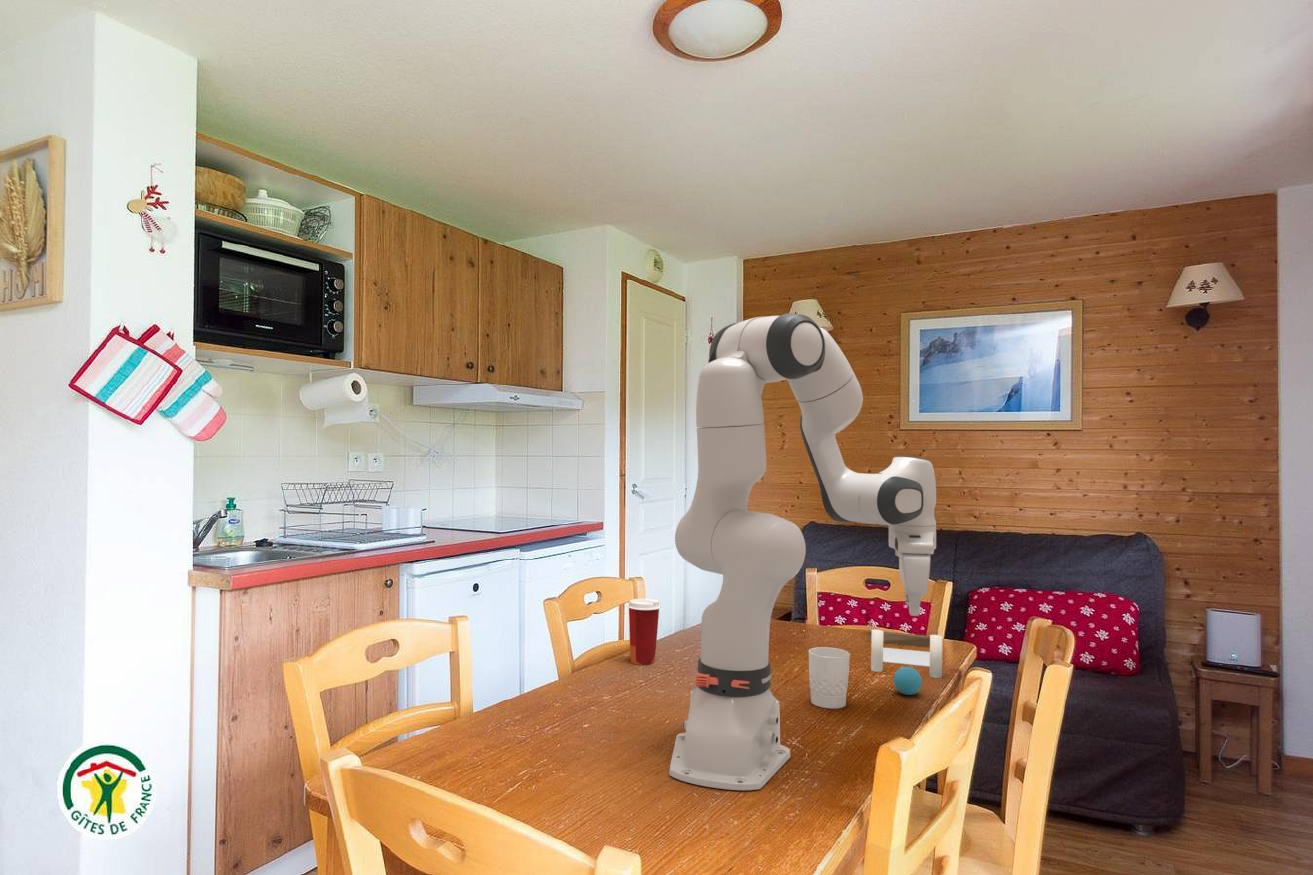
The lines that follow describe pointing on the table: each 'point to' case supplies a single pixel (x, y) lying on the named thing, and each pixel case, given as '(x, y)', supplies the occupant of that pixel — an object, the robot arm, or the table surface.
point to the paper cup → (643, 630)
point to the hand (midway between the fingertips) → (912, 609)
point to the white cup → (828, 676)
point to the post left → (877, 650)
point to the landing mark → (906, 657)
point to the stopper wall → (903, 638)
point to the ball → (907, 680)
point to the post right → (935, 656)
